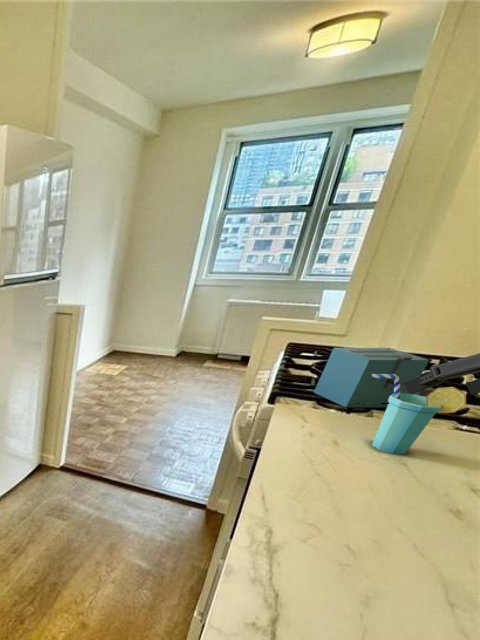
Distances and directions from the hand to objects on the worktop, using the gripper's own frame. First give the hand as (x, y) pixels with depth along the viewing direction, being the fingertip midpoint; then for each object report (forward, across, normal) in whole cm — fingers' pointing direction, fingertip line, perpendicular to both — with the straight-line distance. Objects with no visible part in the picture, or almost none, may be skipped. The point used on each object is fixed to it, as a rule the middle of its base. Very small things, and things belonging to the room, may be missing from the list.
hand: (438, 388), depth 104 cm
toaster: (+17, 0, +5) cm, 18 cm away
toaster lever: (+6, 0, +2) cm, 7 cm away
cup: (-1, -17, -14) cm, 22 cm away
